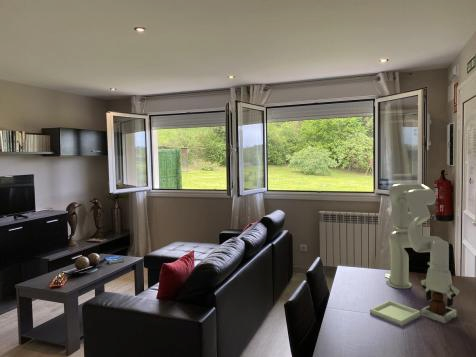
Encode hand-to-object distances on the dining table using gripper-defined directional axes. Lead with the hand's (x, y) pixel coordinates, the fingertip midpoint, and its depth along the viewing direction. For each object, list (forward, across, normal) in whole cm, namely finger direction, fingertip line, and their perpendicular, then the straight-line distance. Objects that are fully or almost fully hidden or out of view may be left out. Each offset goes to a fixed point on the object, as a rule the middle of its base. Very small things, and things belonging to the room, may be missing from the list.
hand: (439, 302), depth 169 cm
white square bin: (+6, 0, 0) cm, 6 cm away
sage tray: (+6, -13, -15) cm, 21 cm away
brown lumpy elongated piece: (+7, -1, 0) cm, 7 cm away
